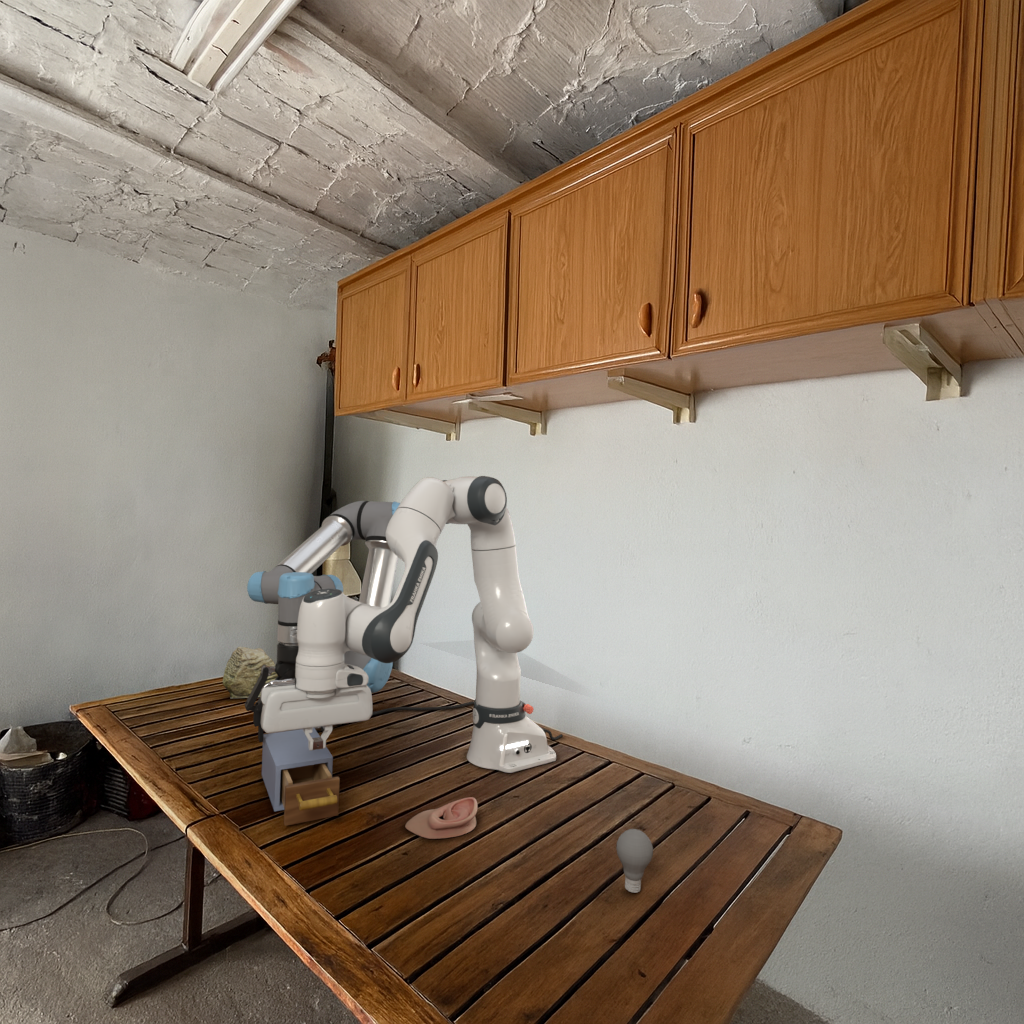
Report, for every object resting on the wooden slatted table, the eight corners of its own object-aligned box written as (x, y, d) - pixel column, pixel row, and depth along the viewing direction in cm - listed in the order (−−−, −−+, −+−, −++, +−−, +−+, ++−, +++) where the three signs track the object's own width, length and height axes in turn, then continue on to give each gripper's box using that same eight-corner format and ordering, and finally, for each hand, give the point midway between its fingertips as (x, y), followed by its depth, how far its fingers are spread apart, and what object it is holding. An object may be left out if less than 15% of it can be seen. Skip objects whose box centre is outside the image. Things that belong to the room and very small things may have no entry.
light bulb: (610, 879, 108) (613, 822, 108) (644, 879, 109) (647, 822, 109) (619, 902, 102) (622, 840, 102) (655, 901, 103) (658, 840, 103)
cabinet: (331, 800, 132) (332, 756, 132) (274, 811, 127) (275, 765, 127) (312, 766, 148) (314, 727, 148) (261, 774, 143) (263, 734, 143)
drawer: (345, 828, 120) (346, 790, 120) (289, 839, 115) (291, 800, 115) (319, 779, 139) (320, 747, 139) (271, 788, 135) (272, 754, 134)
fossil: (218, 695, 195) (220, 647, 195) (278, 685, 208) (279, 640, 207) (228, 703, 189) (230, 653, 188) (289, 692, 201) (290, 645, 201)
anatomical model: (399, 813, 120) (420, 787, 131) (398, 834, 120) (419, 806, 131) (467, 823, 117) (482, 796, 128) (466, 845, 117) (481, 815, 128)
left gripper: (236, 651, 133) (234, 750, 134) (354, 641, 145) (352, 732, 146) (233, 642, 139) (231, 737, 140) (346, 633, 152) (343, 721, 152)
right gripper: (263, 686, 112) (260, 763, 112) (376, 675, 122) (373, 746, 122) (258, 676, 117) (256, 750, 118) (367, 667, 127) (364, 735, 128)
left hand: (292, 735), depth 143 cm, fingers open, 13 cm apart
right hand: (316, 748), depth 120 cm, fingers closed
